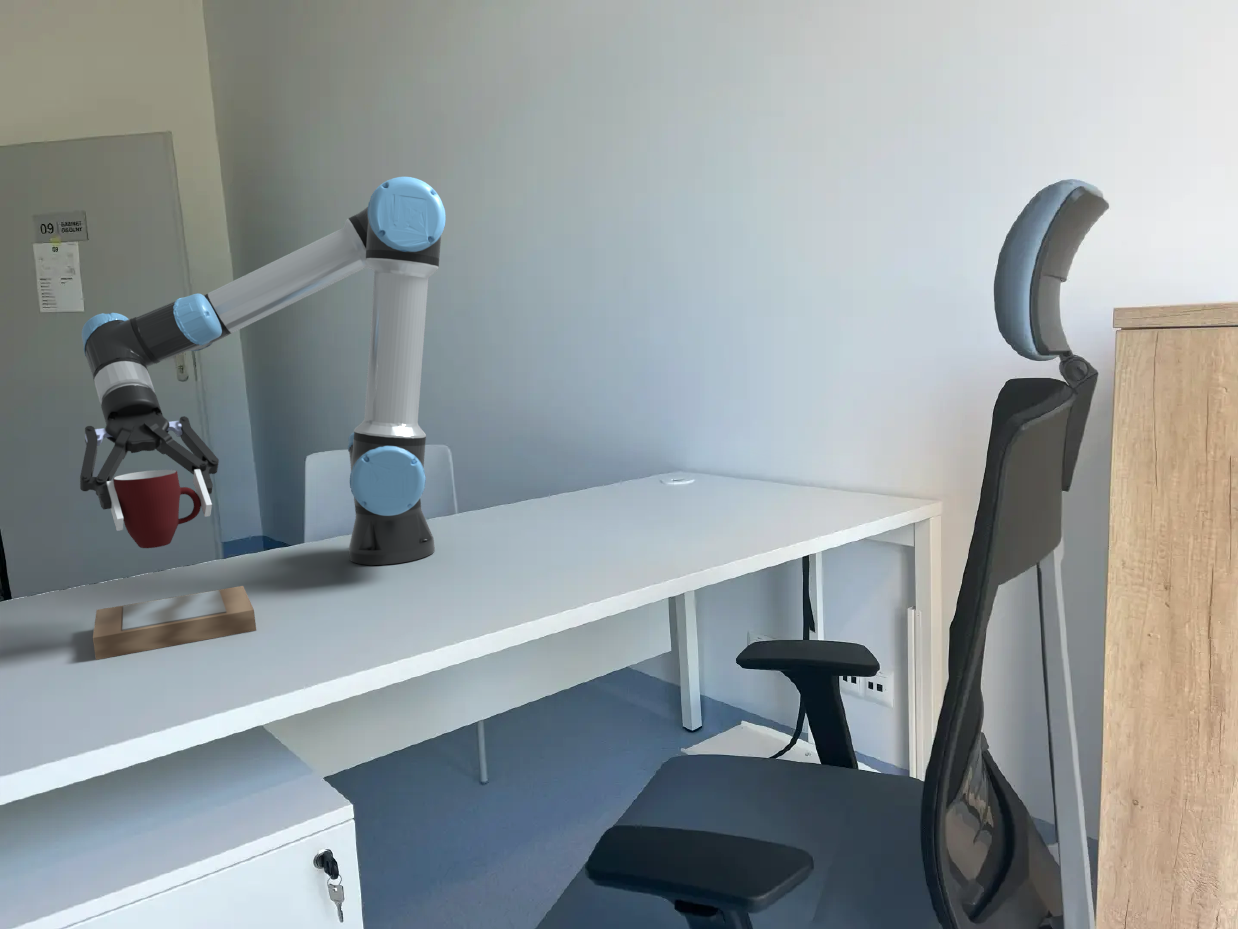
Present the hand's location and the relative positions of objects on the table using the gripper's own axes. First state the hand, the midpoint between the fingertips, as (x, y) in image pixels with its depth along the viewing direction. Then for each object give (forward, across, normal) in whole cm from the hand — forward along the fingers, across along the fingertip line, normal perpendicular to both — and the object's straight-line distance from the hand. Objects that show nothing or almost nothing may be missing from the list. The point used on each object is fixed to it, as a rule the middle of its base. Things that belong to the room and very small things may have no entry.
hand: (165, 517), depth 133 cm
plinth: (+10, 0, -14) cm, 17 cm away
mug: (+1, 0, -5) cm, 5 cm away
